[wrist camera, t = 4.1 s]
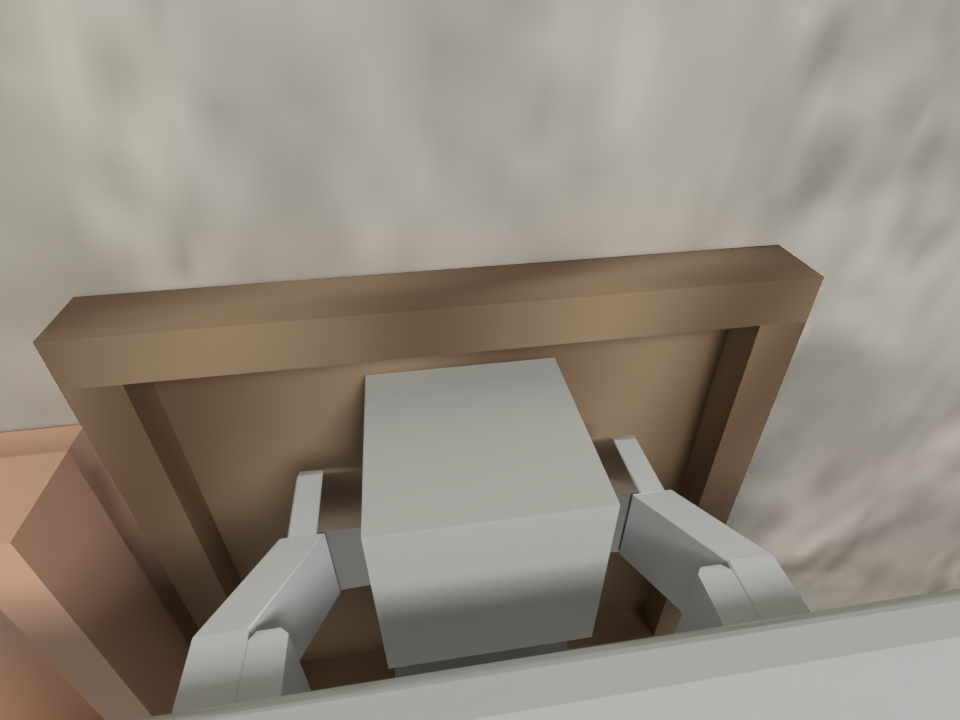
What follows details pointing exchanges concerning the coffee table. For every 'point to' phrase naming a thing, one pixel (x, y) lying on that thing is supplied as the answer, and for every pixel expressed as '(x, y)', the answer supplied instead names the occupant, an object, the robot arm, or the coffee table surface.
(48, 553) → the open rectangular box
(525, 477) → the matte grey cube
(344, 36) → the coffee table surface
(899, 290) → the coffee table surface
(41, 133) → the coffee table surface
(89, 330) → the tray
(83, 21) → the coffee table surface
